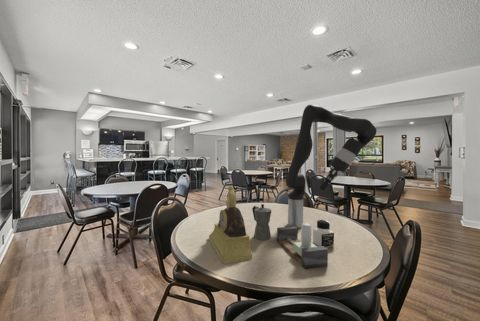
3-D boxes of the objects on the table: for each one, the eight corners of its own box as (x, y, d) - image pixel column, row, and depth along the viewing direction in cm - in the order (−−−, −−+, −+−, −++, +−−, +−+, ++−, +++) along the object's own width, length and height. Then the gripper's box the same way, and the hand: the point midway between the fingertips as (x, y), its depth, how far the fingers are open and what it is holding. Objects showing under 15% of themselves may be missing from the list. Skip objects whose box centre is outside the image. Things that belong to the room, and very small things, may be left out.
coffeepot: (277, 239, 114) (277, 205, 114) (263, 243, 109) (263, 208, 108) (259, 230, 127) (259, 200, 126) (246, 233, 122) (246, 202, 121)
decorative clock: (209, 238, 114) (208, 183, 114) (231, 235, 119) (231, 182, 118) (223, 264, 88) (223, 191, 87) (252, 259, 93) (252, 190, 92)
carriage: (293, 249, 96) (293, 222, 96) (309, 247, 98) (309, 221, 97) (302, 257, 88) (302, 228, 88) (319, 255, 90) (320, 227, 90)
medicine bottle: (321, 248, 103) (321, 223, 103) (312, 242, 110) (313, 219, 110) (334, 246, 105) (334, 222, 105) (324, 240, 112) (325, 218, 111)
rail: (277, 241, 111) (277, 227, 111) (294, 239, 114) (294, 226, 113) (305, 269, 84) (305, 251, 84) (327, 266, 86) (327, 249, 86)
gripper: (335, 157, 106) (315, 184, 108) (335, 154, 93) (313, 184, 95) (349, 165, 103) (329, 193, 105) (351, 163, 90) (328, 195, 92)
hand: (321, 189), depth 100 cm, fingers open, 8 cm apart
